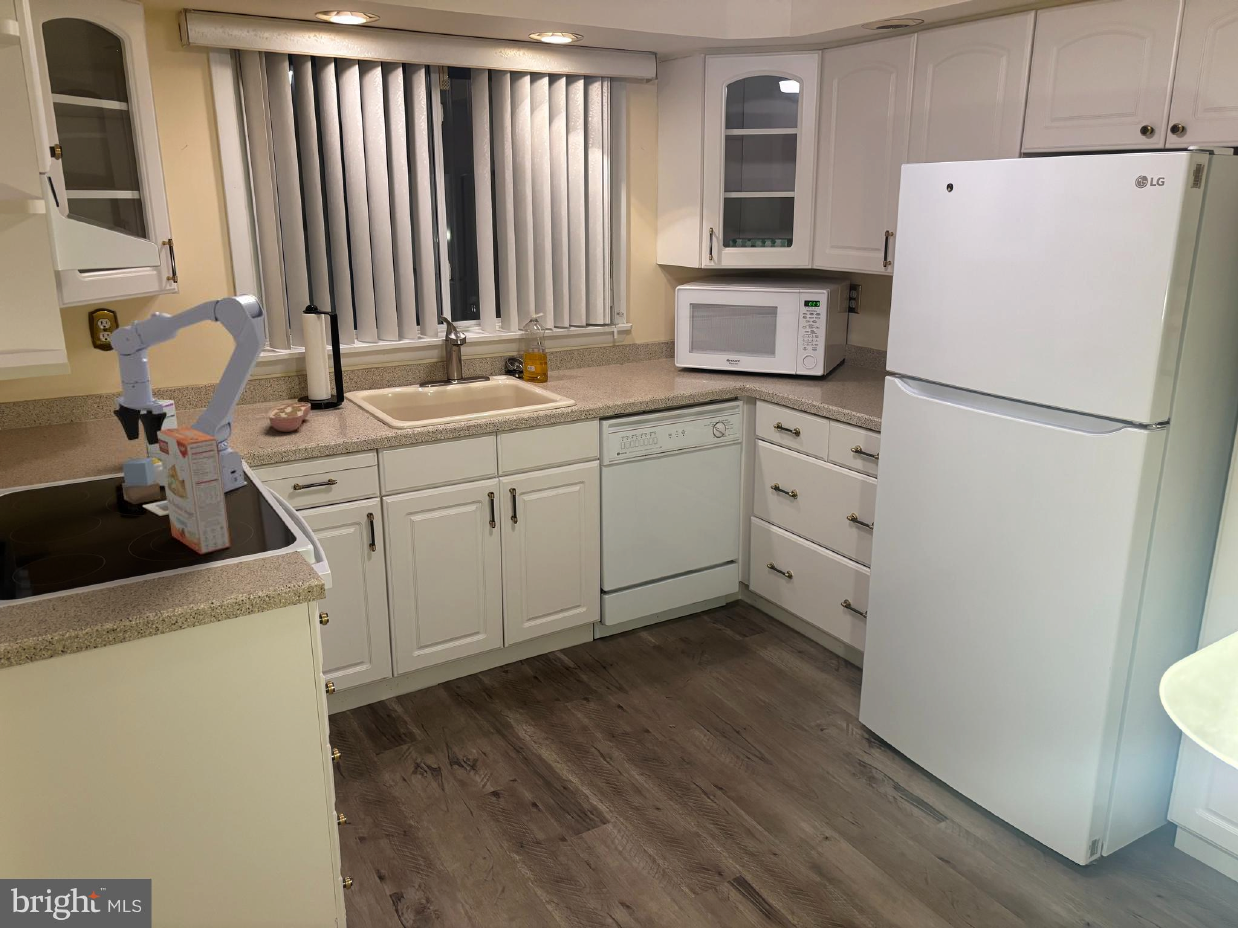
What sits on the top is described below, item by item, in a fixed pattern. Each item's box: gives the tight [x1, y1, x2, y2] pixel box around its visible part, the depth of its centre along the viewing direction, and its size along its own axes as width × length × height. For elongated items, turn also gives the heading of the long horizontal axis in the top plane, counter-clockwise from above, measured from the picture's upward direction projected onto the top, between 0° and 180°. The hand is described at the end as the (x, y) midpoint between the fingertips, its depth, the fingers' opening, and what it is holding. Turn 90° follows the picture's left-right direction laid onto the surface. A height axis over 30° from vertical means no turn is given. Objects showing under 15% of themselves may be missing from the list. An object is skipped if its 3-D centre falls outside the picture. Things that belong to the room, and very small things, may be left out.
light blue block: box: [121, 457, 155, 487], centre depth 199 cm, size 4×4×5 cm
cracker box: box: [157, 426, 232, 555], centre depth 171 cm, size 14×6×21 cm, turn 45°
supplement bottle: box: [152, 458, 165, 487], centre depth 211 cm, size 5×5×10 cm
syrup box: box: [140, 399, 178, 461], centre depth 233 cm, size 6×6×14 cm
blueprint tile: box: [142, 499, 169, 517], centre depth 194 cm, size 9×6×1 cm, turn 47°
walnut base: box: [121, 481, 162, 505], centre depth 200 cm, size 6×6×4 cm
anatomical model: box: [268, 401, 312, 433], centre depth 270 cm, size 23×10×5 cm, turn 9°
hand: (143, 441), depth 207 cm, fingers open, 7 cm apart
